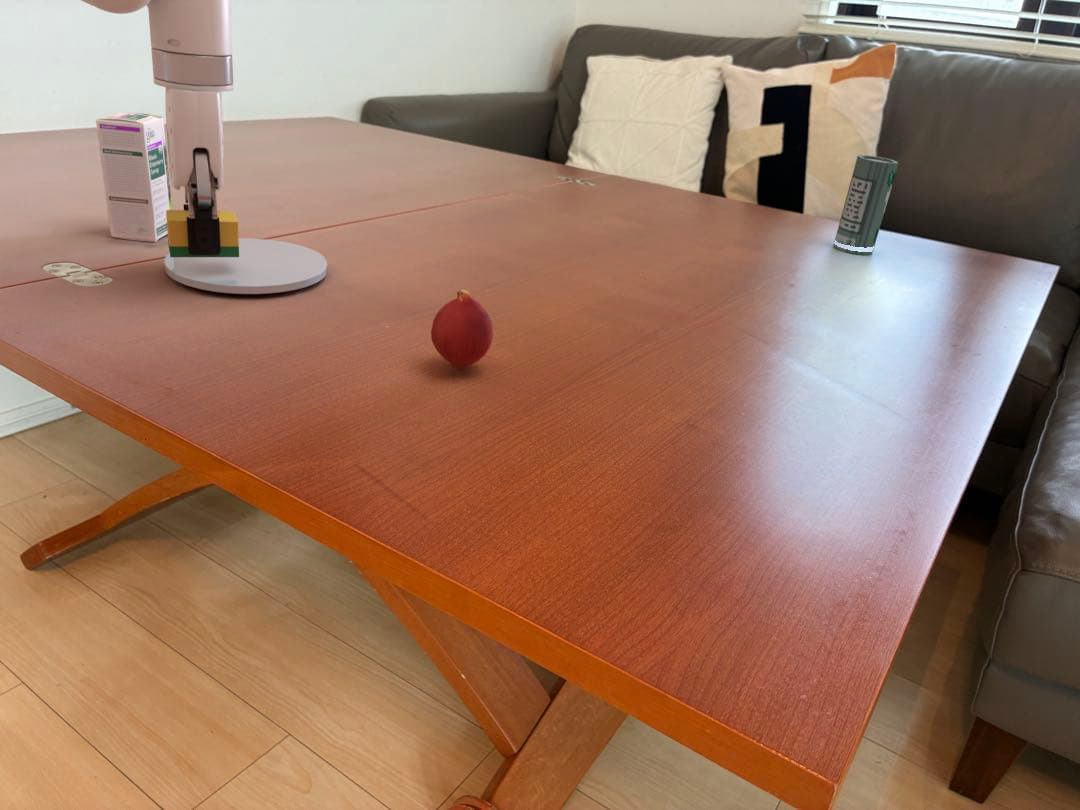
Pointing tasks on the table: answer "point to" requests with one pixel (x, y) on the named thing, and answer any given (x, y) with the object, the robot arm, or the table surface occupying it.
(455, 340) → the onion
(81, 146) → the table surface
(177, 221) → the sponge
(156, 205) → the syrup box
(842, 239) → the can
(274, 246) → the plate
